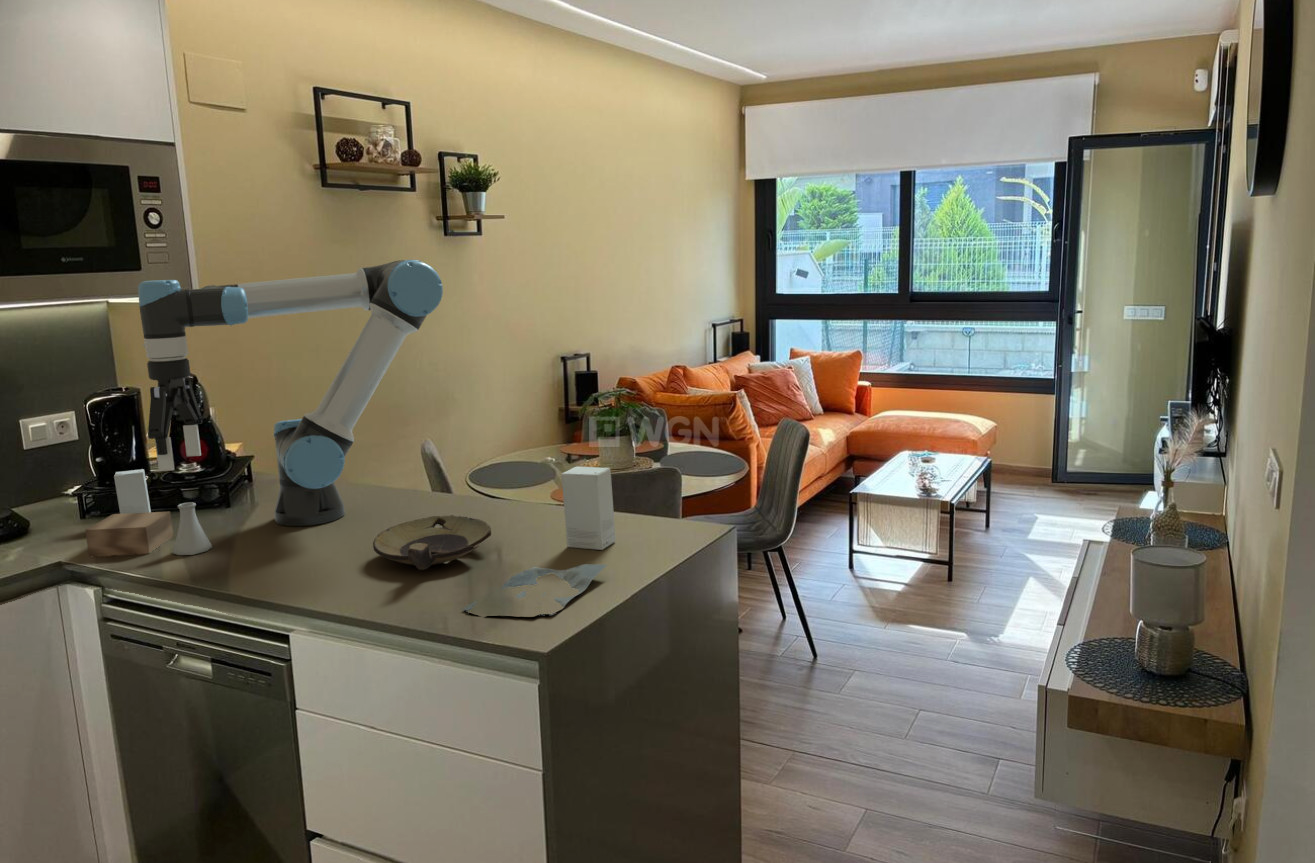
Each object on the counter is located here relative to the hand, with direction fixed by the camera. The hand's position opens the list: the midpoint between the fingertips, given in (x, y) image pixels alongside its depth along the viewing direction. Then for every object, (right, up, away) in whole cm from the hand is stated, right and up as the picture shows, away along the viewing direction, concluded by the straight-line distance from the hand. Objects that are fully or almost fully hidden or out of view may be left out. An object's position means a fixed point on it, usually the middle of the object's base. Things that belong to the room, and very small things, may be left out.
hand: (180, 462), depth 200 cm
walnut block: (-14, -18, +8) cm, 24 cm away
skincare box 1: (-23, -15, +27) cm, 38 cm away
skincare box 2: (+83, -17, -1) cm, 85 cm away
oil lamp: (+52, -19, -8) cm, 56 cm away
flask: (+1, -18, +3) cm, 19 cm away
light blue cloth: (+76, -23, -28) cm, 84 cm away
